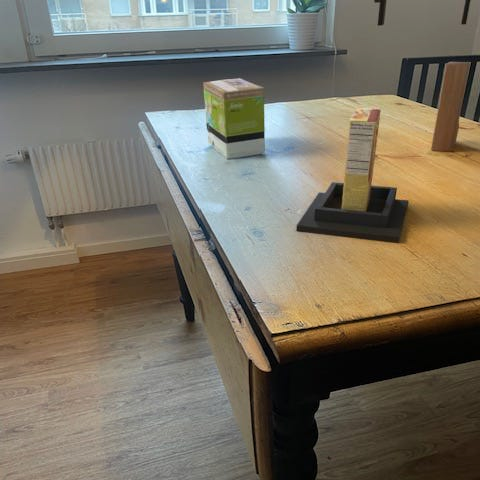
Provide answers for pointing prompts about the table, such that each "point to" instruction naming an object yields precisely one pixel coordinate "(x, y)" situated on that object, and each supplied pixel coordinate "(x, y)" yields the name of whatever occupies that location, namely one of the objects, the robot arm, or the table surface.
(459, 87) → the wooden block
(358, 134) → the candy box
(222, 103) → the tea box
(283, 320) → the table surface
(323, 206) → the dock pad
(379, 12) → the robot arm
